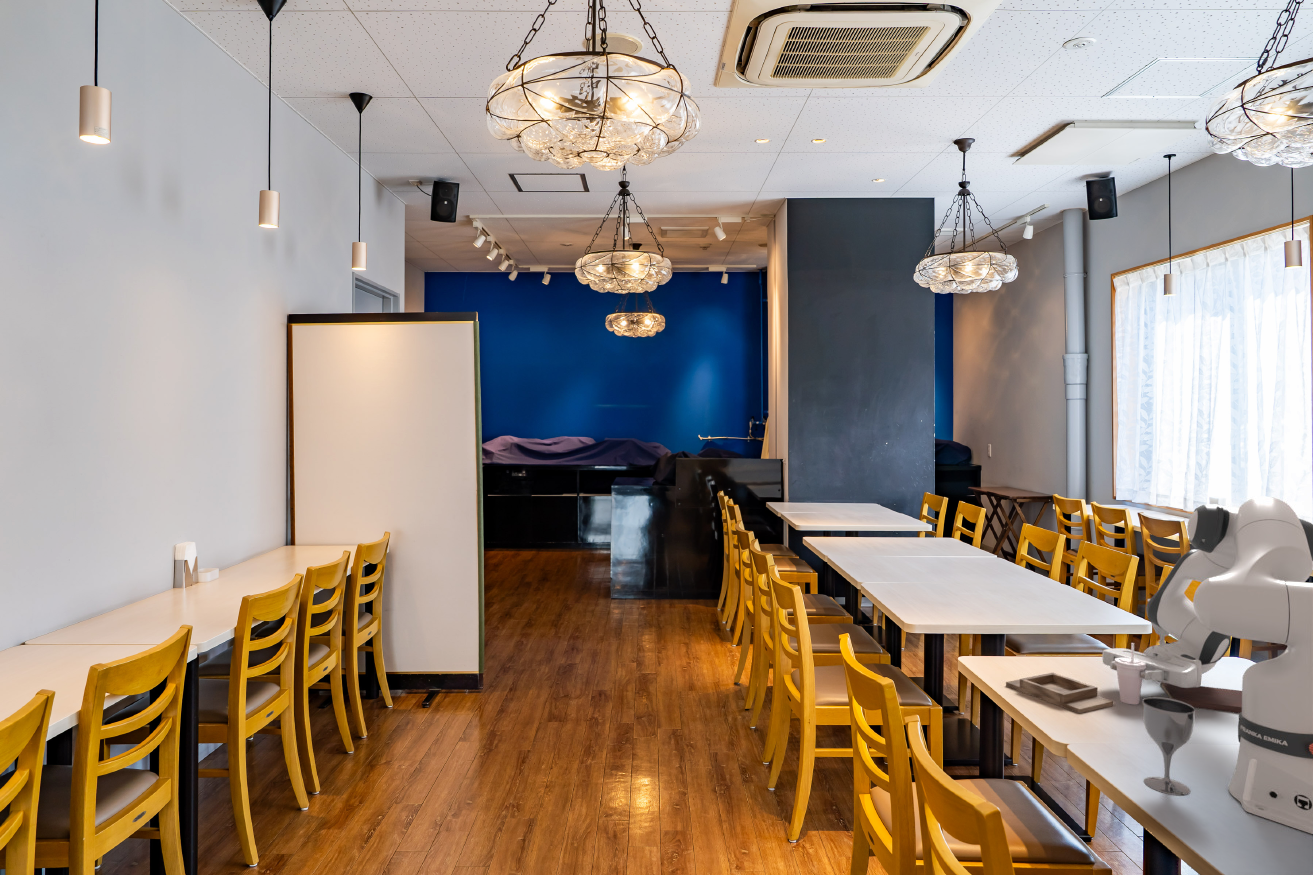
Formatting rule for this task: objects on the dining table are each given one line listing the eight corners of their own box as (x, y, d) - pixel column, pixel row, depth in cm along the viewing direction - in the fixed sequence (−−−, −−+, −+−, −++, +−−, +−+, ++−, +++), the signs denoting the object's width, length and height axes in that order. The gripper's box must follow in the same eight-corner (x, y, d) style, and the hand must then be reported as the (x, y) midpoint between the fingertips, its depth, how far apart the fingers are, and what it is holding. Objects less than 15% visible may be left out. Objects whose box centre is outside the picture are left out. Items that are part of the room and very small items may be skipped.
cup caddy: (1113, 705, 179) (1113, 692, 179) (1079, 713, 174) (1079, 700, 174) (1038, 679, 197) (1038, 667, 197) (1005, 685, 192) (1006, 674, 192)
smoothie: (1150, 707, 178) (1150, 647, 178) (1120, 705, 179) (1120, 646, 179) (1138, 697, 184) (1139, 640, 184) (1109, 695, 186) (1110, 638, 185)
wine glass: (1130, 779, 142) (1132, 699, 141) (1160, 772, 144) (1162, 694, 144) (1173, 799, 134) (1174, 715, 134) (1203, 792, 137) (1205, 709, 137)
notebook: (1160, 687, 194) (1160, 679, 194) (1255, 698, 186) (1255, 690, 186) (1174, 707, 180) (1175, 698, 180) (1278, 720, 172) (1278, 711, 172)
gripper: (1122, 639, 197) (1087, 646, 191) (1208, 662, 178) (1172, 670, 172) (1122, 663, 197) (1086, 671, 191) (1207, 689, 178) (1171, 697, 172)
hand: (1128, 670), depth 181 cm, fingers closed on smoothie, 6 cm apart
